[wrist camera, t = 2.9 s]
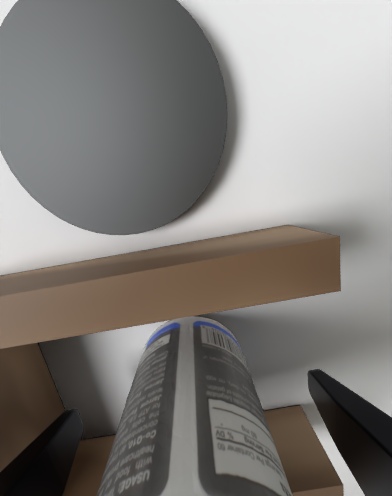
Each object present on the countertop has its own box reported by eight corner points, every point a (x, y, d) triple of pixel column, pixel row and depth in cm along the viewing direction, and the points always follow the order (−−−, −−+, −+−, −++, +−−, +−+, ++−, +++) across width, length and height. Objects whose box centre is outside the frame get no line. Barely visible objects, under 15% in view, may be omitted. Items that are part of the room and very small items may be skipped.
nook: (302, 428, 11) (343, 513, 8) (58, 466, 11) (9, 562, 8) (287, 225, 8) (339, 236, 5) (-27, 280, 8) (-143, 321, 6)
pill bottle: (155, 402, 10) (-3, 1248, 2) (133, 321, 9) (-407, 1417, 1) (246, 388, 10) (489, 1209, 2) (235, 305, 9) (678, 1332, 1)
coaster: (237, 214, 8) (240, 215, 7) (48, 248, 8) (37, 251, 8) (205, -35, 6) (206, -60, 6) (-35, 14, 6) (-58, -5, 6)
